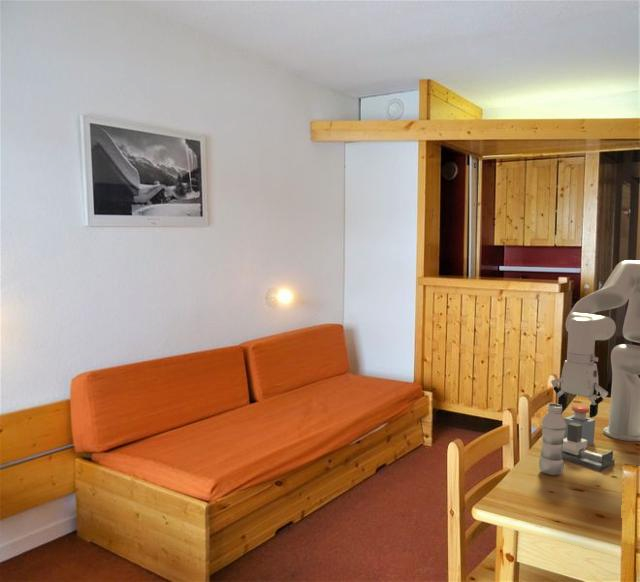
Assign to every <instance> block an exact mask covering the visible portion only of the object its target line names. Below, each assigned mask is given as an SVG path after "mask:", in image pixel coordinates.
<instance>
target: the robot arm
mask: <svg viewBox="0 0 640 582" xmlns="http://www.w3.org/2000/svg"><path fill="white" fill-rule="evenodd" d="M627 302H628V304H627ZM626 304H627V309H626V314H625V317H624V321H623V325H622V326H623V327H622V335H623V337H624V339H625V340H627V341H631V342H634V343H638V344H640V260H632V259H630V260H629V259H627V260H622V261H620V262H619V263H617V264H616V265H615V267H614V269H613V270H612V272H611V274H610V275H609V276H608V278H607V279H606V281H605V283H604V284H603V286H601V288H600V289H598V290H595V291H594V292H592V293H590V294H587V295H586V296H584V297H582V298H581V299H579V300H578V301H576V303H575V304H574V305H573V307H572V308H571V310H570V312H569V313H568V315H567V317H566V319H565V330H566V332H567V347H566V349H567V350H566V359H565V360H564V362H563V367H562V370H561V377H558V378H556V379H551V381H550V382H551V385H552V387H553V390H554V392H555V394H556V397H558V402H557V404H559V405H561V406H562V410H564V409H566V408H567V395H566V394H571V395H573V396H574V395H575V396H578V397H584V398H588V400H589V401H590V403H591V404H589V412H588V413H589V414H588V415H589V417H588V418H591V419H593V418H594V417H596V416H597V415H598V413H599V404H600V403H602V402H603V401H604V400H605V398H606V397H607V396H608V395H609V392H608V391H607V390H606V389H604V388H603V387H602V386H601V385H599V371H598V367H597V366H598V365H597V363H598V362H599V357H597V356H595V355H596V354H595V348H596V347H595V345H596V344H595V343H596V341H607V340H609V339H611V338H612V337H613V336H614V335H615V333H616V329H617V325H616V322H615V321H614V319H612V318H611V317H609V316H606V315H600V314H594V313H597V312H602V311H607V310H612V309H617V308H620V307H623V306H624V305H626ZM595 362H597V363H595ZM610 363H611V372H612V373H611V374H612V375H611V392H610V403H609V404H610V405H609V416H608V426H605V427H604V428H603V431H602V432H603V434H604V435H606V436H607V437H609V438H612V439H616V440H621V441H626V442H639V441H640V377H639V376H640V345H636V344H631V343H630V344H628V343H621V344H617V345H616V346H614V347H613V349H612V350H611V353H610ZM559 383H560V386H559ZM598 394H600V396H599V397H598V396H597V395H598Z"/></svg>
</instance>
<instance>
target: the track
mask: <svg viewBox="0 0 640 582" xmlns="http://www.w3.org/2000/svg"><path fill="white" fill-rule="evenodd" d="M615 460H616V459H615V458H614V450H609V451H608V452H607V451H606V452H605V453H603V454H601V453H597V452H595V451H591V450H588V449H585V450H584V449H580V450H579V455H574V454H571V453H568V452H565V451H563V461H567V462H571V463H573V462H574V464H577V465H580V466H583V467H586V468H589V469H592V470H595V471H597V472H602V471H604V470H606V469H609V468H610V467H613V465H615Z"/></svg>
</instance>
